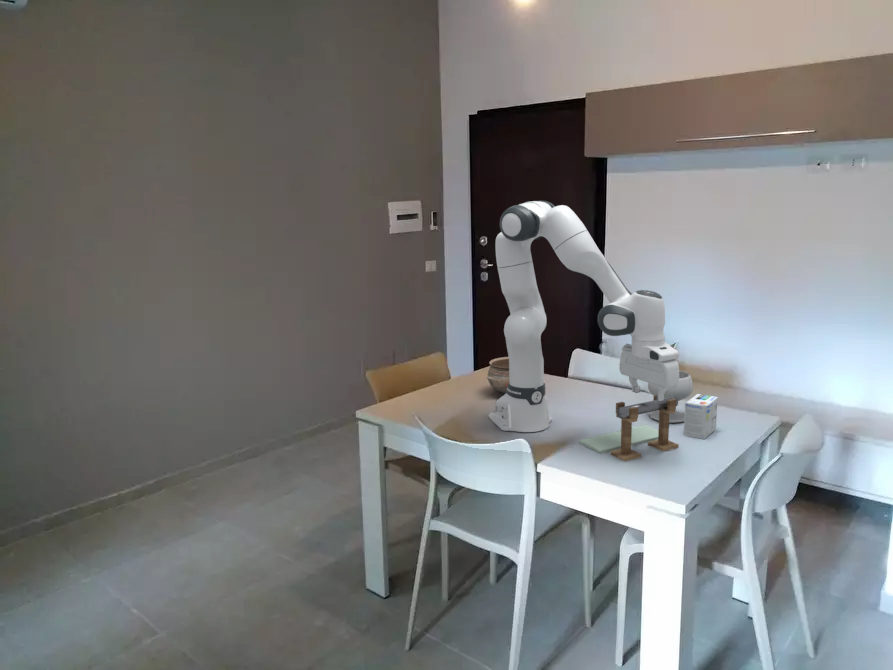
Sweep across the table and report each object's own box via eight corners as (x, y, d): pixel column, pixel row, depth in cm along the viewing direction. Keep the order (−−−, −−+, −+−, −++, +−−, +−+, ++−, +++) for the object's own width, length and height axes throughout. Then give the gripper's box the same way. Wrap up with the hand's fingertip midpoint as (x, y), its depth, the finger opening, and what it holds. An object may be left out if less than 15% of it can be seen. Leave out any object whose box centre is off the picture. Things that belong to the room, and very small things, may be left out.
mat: (579, 442, 198) (579, 440, 198) (645, 427, 210) (645, 424, 209) (600, 453, 190) (600, 450, 189) (668, 436, 201) (668, 434, 201)
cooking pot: (518, 382, 265) (518, 352, 263) (553, 391, 251) (553, 360, 248) (471, 395, 250) (470, 363, 247) (506, 406, 235) (505, 373, 233)
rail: (621, 420, 183) (625, 413, 181) (615, 413, 185) (618, 405, 183) (675, 408, 191) (679, 401, 189) (669, 401, 193) (673, 394, 191)
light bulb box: (695, 425, 210) (696, 393, 208) (716, 429, 206) (718, 396, 203) (682, 435, 202) (684, 401, 199) (705, 439, 197) (707, 405, 195)
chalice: (697, 424, 210) (699, 379, 207) (652, 425, 211) (654, 380, 208) (684, 410, 224) (686, 368, 221) (642, 411, 225) (644, 368, 222)
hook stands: (609, 454, 189) (610, 404, 186) (662, 441, 197) (664, 393, 194) (625, 461, 183) (626, 410, 180) (679, 448, 192) (681, 398, 189)
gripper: (614, 343, 192) (614, 389, 195) (665, 356, 174) (665, 407, 177) (631, 341, 195) (631, 386, 197) (683, 353, 176) (682, 402, 179)
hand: (647, 396), depth 187 cm, fingers open, 8 cm apart
